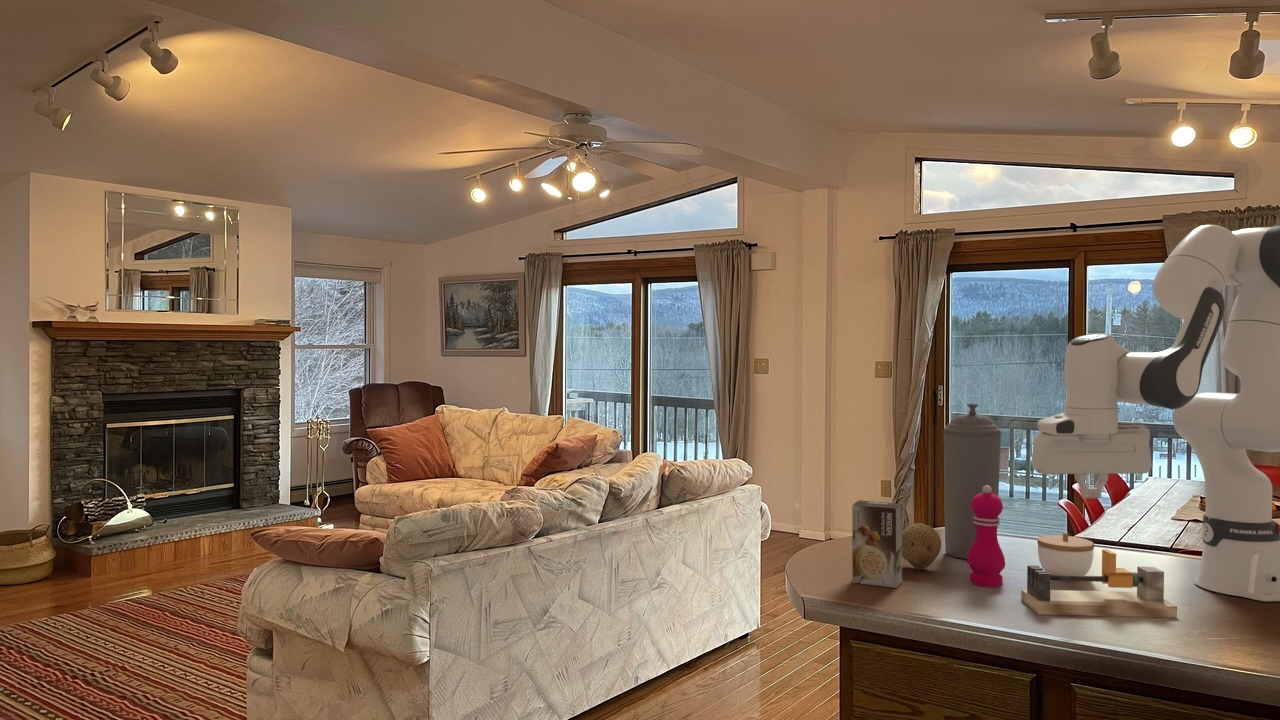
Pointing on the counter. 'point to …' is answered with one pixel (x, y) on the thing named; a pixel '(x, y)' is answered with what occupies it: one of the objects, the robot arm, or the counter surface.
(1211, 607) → the counter surface
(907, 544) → the natural sponge
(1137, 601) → the cord board
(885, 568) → the coffee box
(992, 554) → the pepper mill
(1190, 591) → the counter surface
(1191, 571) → the counter surface
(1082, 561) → the lidded jar
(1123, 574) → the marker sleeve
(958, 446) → the canister
